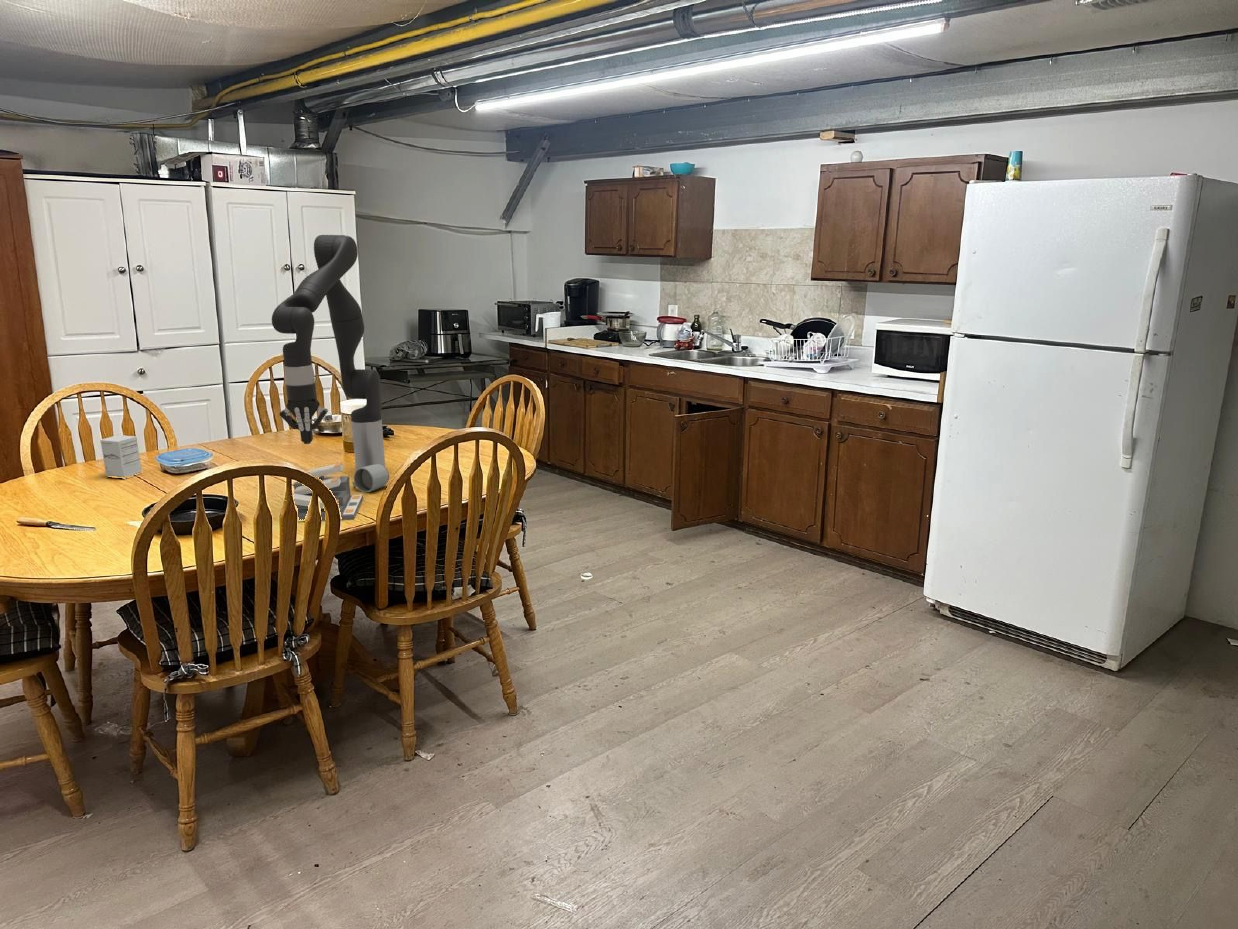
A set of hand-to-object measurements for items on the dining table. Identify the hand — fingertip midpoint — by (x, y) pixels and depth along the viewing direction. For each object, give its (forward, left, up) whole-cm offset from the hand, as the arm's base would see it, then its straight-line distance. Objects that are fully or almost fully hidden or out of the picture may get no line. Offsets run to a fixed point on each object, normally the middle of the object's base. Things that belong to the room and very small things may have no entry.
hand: (307, 443), depth 236 cm
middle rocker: (+2, +2, -12) cm, 12 cm away
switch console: (+2, +3, -19) cm, 19 cm away
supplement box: (-42, -66, -19) cm, 80 cm away
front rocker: (+8, +2, -14) cm, 17 cm away
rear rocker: (-4, +2, -9) cm, 10 cm away
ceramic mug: (-17, +13, -19) cm, 28 cm away
